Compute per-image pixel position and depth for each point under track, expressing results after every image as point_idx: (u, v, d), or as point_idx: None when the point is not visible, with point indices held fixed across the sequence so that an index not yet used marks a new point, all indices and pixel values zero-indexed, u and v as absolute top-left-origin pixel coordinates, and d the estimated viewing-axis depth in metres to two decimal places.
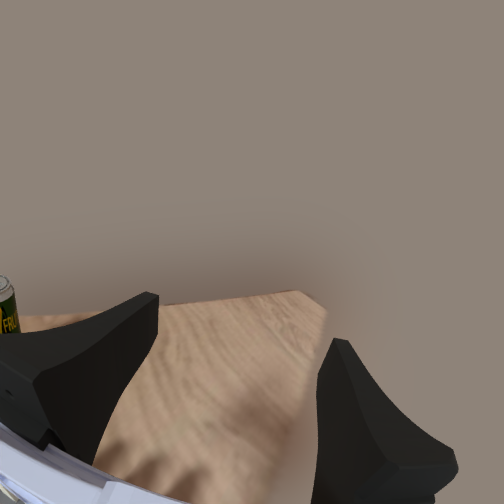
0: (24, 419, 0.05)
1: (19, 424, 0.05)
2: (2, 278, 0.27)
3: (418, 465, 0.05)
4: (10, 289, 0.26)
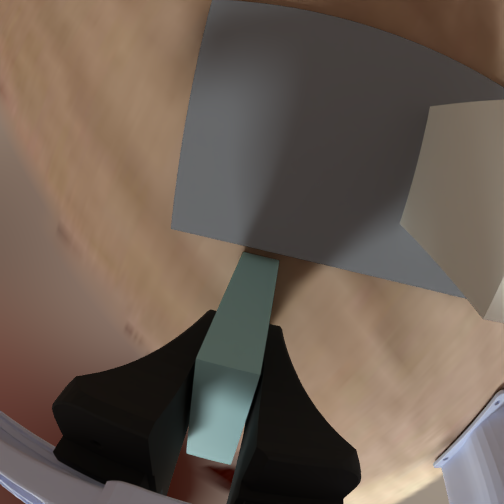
0: (113, 467, 0.05)
1: (108, 474, 0.05)
2: None
3: (294, 459, 0.05)
4: None
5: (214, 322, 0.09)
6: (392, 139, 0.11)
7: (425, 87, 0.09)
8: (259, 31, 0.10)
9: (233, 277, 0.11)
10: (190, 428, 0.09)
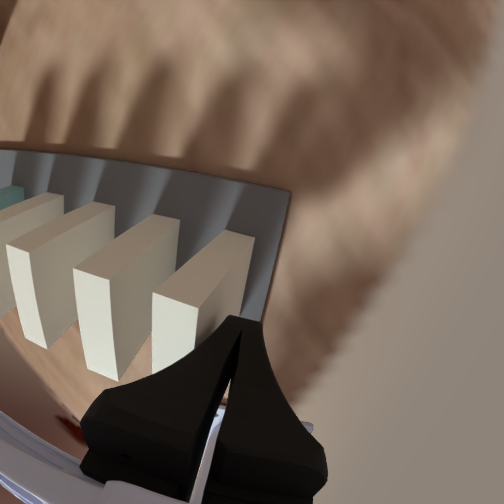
0: (144, 480, 0.05)
1: (140, 487, 0.05)
2: None
3: (253, 452, 0.05)
4: None
5: None
6: None
7: (43, 180, 0.16)
8: None
9: None
10: None
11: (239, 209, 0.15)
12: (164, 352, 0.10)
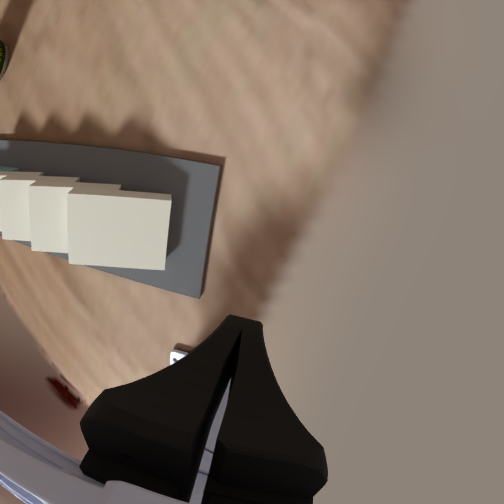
0: (144, 480, 0.05)
1: (140, 487, 0.05)
2: None
3: (253, 452, 0.05)
4: None
5: None
6: None
7: (46, 163, 0.21)
8: (3, 154, 0.21)
9: (4, 166, 0.22)
10: None
11: (184, 179, 0.20)
12: None
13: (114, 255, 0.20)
